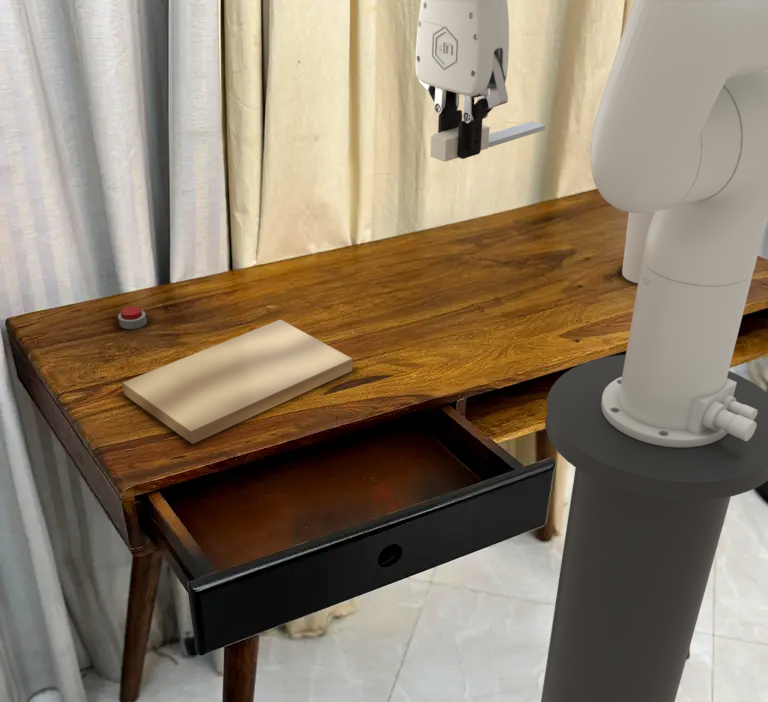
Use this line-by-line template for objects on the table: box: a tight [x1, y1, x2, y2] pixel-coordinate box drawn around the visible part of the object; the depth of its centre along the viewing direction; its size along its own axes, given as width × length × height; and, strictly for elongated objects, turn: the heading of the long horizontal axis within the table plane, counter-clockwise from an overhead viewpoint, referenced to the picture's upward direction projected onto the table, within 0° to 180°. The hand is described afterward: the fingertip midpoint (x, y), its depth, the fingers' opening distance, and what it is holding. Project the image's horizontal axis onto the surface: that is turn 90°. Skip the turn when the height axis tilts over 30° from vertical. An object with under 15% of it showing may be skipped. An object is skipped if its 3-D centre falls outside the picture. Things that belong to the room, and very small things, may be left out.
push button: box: [117, 305, 148, 330], centre depth 111 cm, size 3×3×2 cm
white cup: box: [621, 212, 655, 284], centre depth 118 cm, size 7×7×10 cm
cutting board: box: [122, 319, 353, 445], centre depth 100 cm, size 12×20×2 cm, turn 133°
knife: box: [429, 120, 546, 162], centre depth 114 cm, size 17×2×2 cm, turn 132°
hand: (459, 151), depth 112 cm, fingers closed on knife, 2 cm apart
